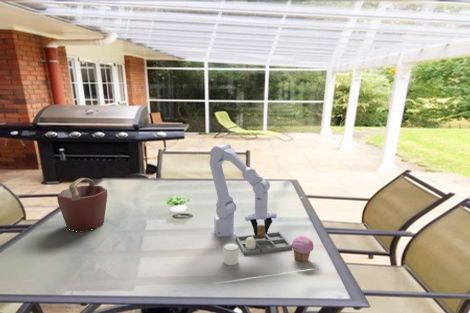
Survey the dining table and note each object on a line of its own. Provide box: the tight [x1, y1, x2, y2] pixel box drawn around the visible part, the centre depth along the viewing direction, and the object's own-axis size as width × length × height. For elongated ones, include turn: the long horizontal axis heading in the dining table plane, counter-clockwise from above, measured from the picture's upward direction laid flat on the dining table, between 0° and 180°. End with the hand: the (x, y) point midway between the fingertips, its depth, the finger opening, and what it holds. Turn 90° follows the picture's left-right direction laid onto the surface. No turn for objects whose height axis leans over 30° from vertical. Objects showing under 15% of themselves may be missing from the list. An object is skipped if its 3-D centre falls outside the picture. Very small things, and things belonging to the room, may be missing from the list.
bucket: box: [56, 177, 108, 233], centre depth 160 cm, size 24×22×25 cm
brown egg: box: [256, 224, 266, 239], centre depth 144 cm, size 4×4×6 cm
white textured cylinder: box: [222, 242, 240, 266], centre depth 126 cm, size 7×7×7 cm
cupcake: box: [291, 235, 314, 263], centre depth 128 cm, size 9×9×10 cm
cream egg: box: [246, 237, 256, 251], centre depth 136 cm, size 4×4×6 cm
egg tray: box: [235, 231, 293, 256], centre depth 141 cm, size 22×15×2 cm
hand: (260, 233), depth 144 cm, fingers closed on brown egg, 4 cm apart
